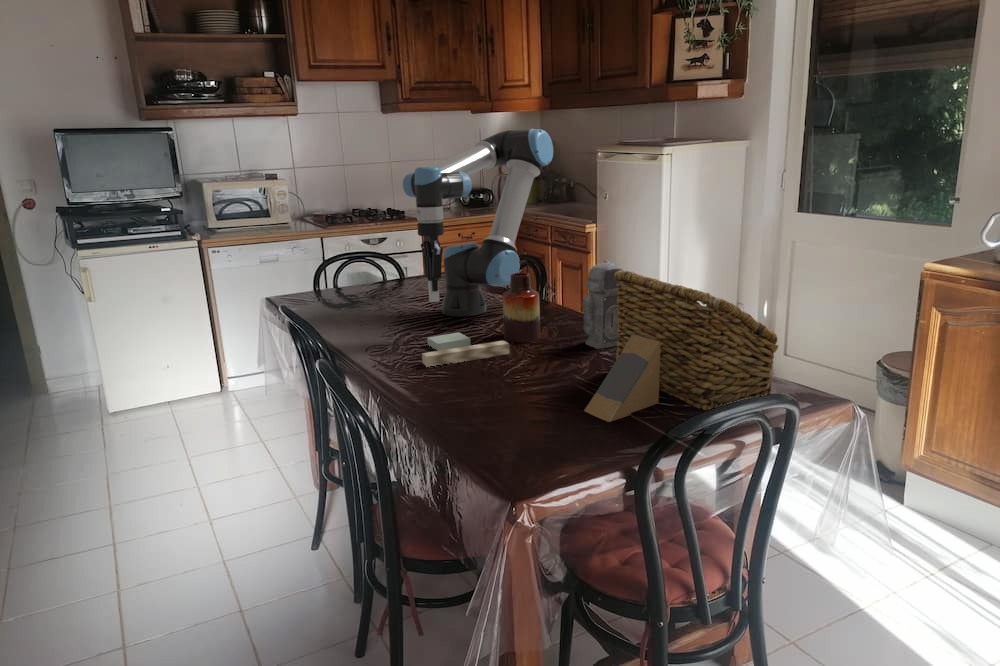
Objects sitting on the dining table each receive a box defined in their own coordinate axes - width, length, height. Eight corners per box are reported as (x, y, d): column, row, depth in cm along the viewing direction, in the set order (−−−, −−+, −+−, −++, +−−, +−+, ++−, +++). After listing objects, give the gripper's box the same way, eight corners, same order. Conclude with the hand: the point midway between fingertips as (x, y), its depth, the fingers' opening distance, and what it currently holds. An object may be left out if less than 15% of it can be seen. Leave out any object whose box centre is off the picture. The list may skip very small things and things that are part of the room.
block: (459, 345, 213) (458, 332, 212) (470, 351, 206) (470, 338, 205) (428, 350, 208) (427, 337, 207) (438, 357, 201) (437, 343, 200)
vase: (547, 340, 213) (546, 273, 208) (523, 348, 205) (521, 278, 200) (520, 334, 220) (518, 269, 215) (496, 342, 212) (493, 275, 207)
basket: (794, 394, 162) (803, 277, 155) (707, 417, 151) (712, 292, 144) (686, 356, 193) (689, 257, 186) (608, 372, 182) (608, 268, 175)
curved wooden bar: (504, 354, 201) (503, 340, 200) (509, 357, 197) (509, 343, 196) (422, 367, 191) (421, 353, 190) (427, 371, 188) (426, 356, 187)
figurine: (635, 346, 203) (636, 259, 197) (595, 354, 197) (594, 265, 190) (614, 339, 212) (614, 255, 205) (574, 347, 205) (573, 260, 198)
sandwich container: (581, 412, 156) (580, 346, 152) (631, 396, 165) (632, 333, 161) (608, 423, 149) (609, 355, 146) (659, 406, 158) (660, 341, 154)
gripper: (411, 220, 211) (415, 299, 216) (424, 224, 199) (429, 306, 205) (435, 219, 214) (439, 296, 219) (450, 222, 202) (453, 303, 208)
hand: (434, 301), depth 212 cm, fingers closed
